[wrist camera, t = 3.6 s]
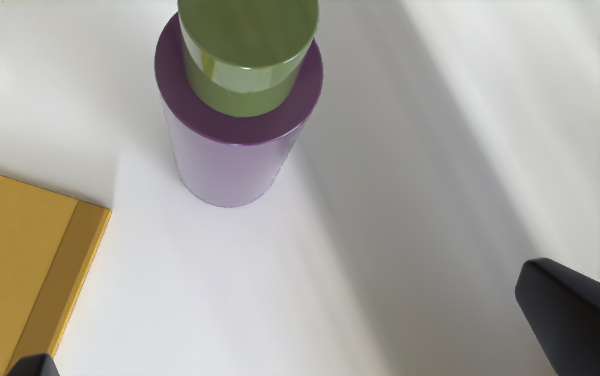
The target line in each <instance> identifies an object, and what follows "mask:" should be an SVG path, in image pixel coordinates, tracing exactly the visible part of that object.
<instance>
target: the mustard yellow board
mask: <svg viewBox="0 0 600 376" xmlns="http://www.w3.org/2000/svg"><path fill="white" fill-rule="evenodd" d="M111 213H112V211H111V210H110V209H107V208H104V207H101V206H98V205H95V204H92V203H88V202H85V201H82V200H78V199H75V198H72V197H69V196H66V195H62V194H59V193H56V192H53V191H50V190H46V189H43V188H40V187H37V186H34V185H30V184H27V183H24V182H21V181H18V180H14V179H11V178H8V177H5V176H2V175H0V376H6V375H7V373H8V372H9V371H10V370H11V368H12V367H13V366H14V365H15V363H16V362H17V361H18V360H19V359H20V358H22V357H24V356H27V355H33V354H38V353H43V352H45V353H46V352H47V353H49V354H50V355H51V357H52V359H53V357H54V355H55V352H56V350H57V347H58V345H59V342H60V340H61V337H62V335H63V333H64V330H65V328H66V325H67V323H68V320H69V318H70V315H71V313H72V310H73V308H74V305H75V303H76V300H77V298H78V295H79V293H80V290H81V288H82V285H83V283H84V280H85V278H86V275H87V273H88V271H89V268H90V266H91V263H92V261H93V258H94V256H95V253H96V251H97V248H98V246H99V243H100V241H101V238H102V236H103V233H104V231H105V228H106V226H107V223H108V221H109V218H110V216H111Z"/></svg>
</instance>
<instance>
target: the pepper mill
mask: <svg viewBox="0 0 600 376" xmlns="http://www.w3.org/2000/svg"><path fill="white" fill-rule="evenodd" d="M177 5H178V11H177V13H176V14H175V15H174V16H173V17H172V18H171V19H170V20H169V22H168V23H167V24H166V26H165V27H164V29H163V31H162V33H161V35H160V37H159V40H158V43H157V46H156V51H155V57H154V70H155V78H156V82H157V86H158V90H159V95H160V99H161V103H162V107H163V111H164V116H165V120H166V124H167V128H168V132H169V136H170V141H171V145H172V149H173V153H174V157H175V162H176V166H177V170H178V173H179V175H180V178H181V180H182V182H183V183H184V185H185V186H186V187H187V189H188V190H189V191H190V192H191V193H192V194H193V195H194V196H196V197H197V198H199V199H200V200H202V201H204V202H206V203H208V204H211V205H214V206H218V207H239V206H243V205H246V204H249V203H251V202H253V201H255V200H256V199H258V198H259V197H261V196H262V195H263V194H264V193H265V192H266V191H267V190H268V189H269V187H270V186H271V185H272V183H273V181H274V179H275V178H276V176H277V174H278V172H279V170H280V169H281V167H282V165H283V163H284V161H285V160H286V158H287V156H288V154H289V152H290V151H291V149H292V147H293V145H294V143H295V142H296V140H297V138H298V136H299V134H300V133H301V131H302V129H303V127H304V125H305V124H306V122H307V120H308V118H309V116H310V115H311V113H312V111H313V109H314V107H315V106H316V104H317V102H318V99H319V96H320V93H321V89H322V85H323V63H322V58H321V54H320V51H319V48H318V45H317V43H316V41H315V39H314V35H315V32H316V30H317V26H318V22H319V4H318V0H177Z"/></svg>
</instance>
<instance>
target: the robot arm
mask: <svg viewBox="0 0 600 376" xmlns="http://www.w3.org/2000/svg"><path fill="white" fill-rule="evenodd" d="M515 297H516V300H517V302H518V304H519V306H520V308H521V310H522V311H523V313H524V315H525V317H526V319H527V321H528V323H529V324H530V326H531V328H532V330H533V332H534V334H535V336H536V338H537V339H538V341H539V343H540V345H541V347H542V349H543V351H544V353H545V354H546V356H547V358H548V360H549V361H550V363H551V365H552V367H553V368H554V370H555V372H556V373H557V375H558V376H600V282H597V281H595V280H593V279H591V278H589V277H587V276H585V275H583V274H581V273H578V272H576V271H574V270H572V269H570V268H568V267H566V266H564V265H561V264H559V263H557V262H555V261H553V260H551V259H548V258H537V259H531V260H528V261H526V262H525V263H524V264H523V267H522V270H521V273H520V275H519V278H518V281H517V284H516V287H515ZM6 376H60V375H59V373H58V371H57V368H56V366H55V363H54V361H53V359H52V357H51V355H50V354H49V353H47V352H46V353H45V352H43V353H38V354H33V355H27V356H24V357H22V358H20V359H19V360H18V361H17V362H16V363H15V365H14V366H13V367H12V368H11V370H10V371H9V372H8V373H7V375H6Z"/></svg>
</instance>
